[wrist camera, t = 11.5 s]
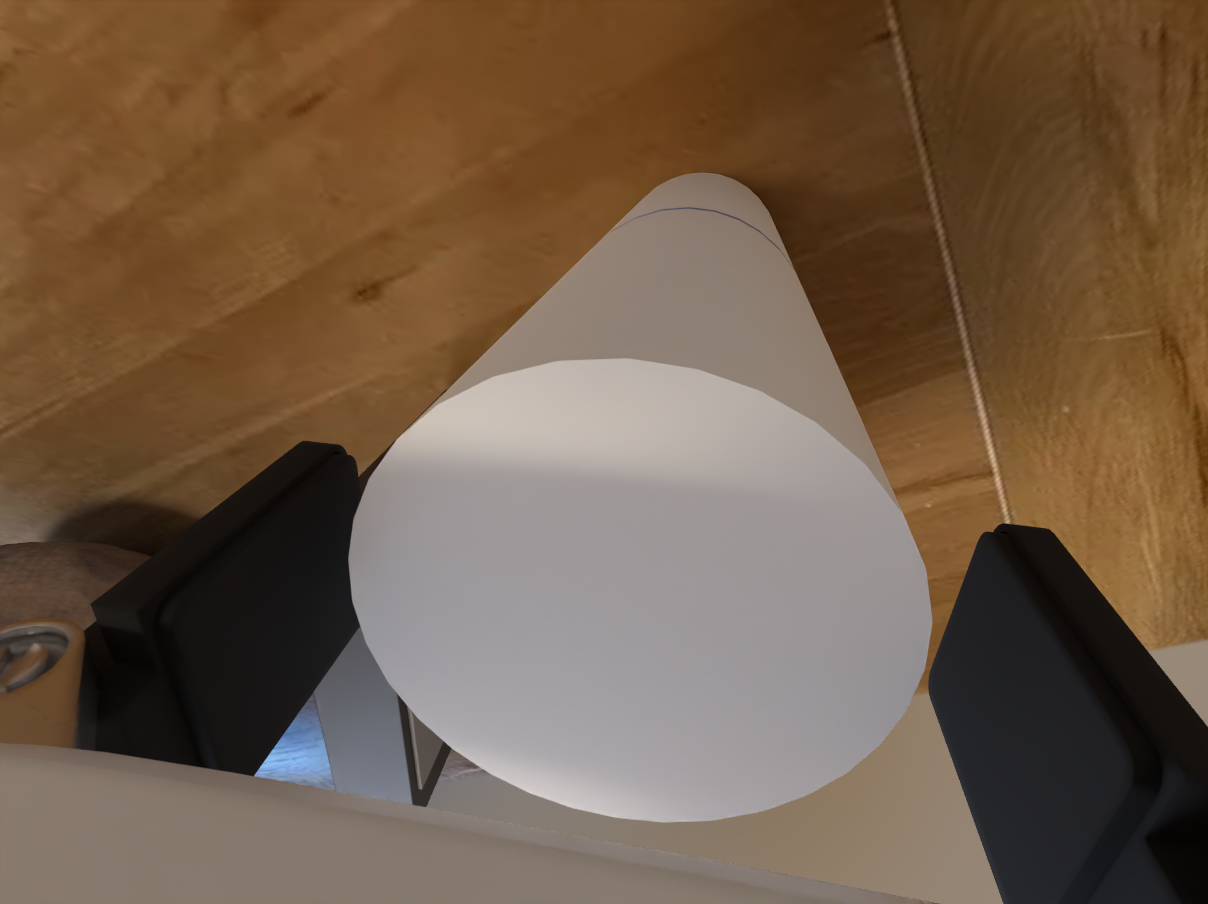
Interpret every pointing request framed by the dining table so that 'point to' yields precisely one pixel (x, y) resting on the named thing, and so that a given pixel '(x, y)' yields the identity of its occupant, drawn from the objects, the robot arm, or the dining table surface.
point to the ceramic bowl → (60, 579)
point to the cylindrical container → (649, 536)
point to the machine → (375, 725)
